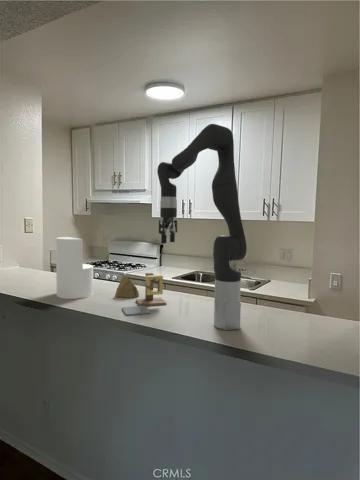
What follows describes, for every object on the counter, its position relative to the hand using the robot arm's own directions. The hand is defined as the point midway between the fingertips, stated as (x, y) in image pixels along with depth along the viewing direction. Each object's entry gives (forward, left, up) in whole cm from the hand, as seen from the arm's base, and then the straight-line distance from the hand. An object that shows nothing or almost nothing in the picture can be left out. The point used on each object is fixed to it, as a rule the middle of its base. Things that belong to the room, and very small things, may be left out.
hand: (168, 242), depth 151 cm
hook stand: (-3, +8, -27) cm, 29 cm away
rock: (+14, +16, -28) cm, 35 cm away
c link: (-6, +8, -22) cm, 24 cm away
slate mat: (-11, +17, -27) cm, 34 cm away
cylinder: (+25, +40, -28) cm, 55 cm away
